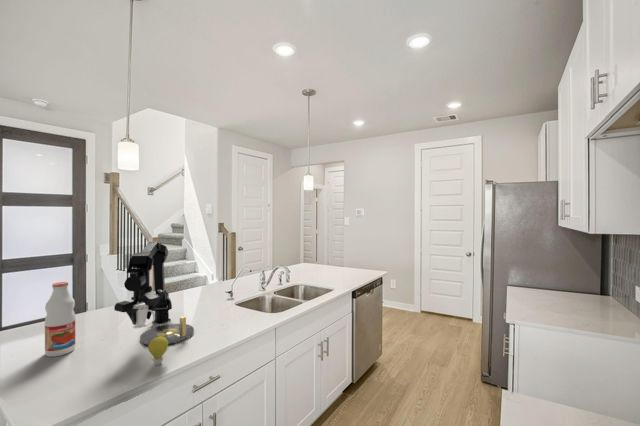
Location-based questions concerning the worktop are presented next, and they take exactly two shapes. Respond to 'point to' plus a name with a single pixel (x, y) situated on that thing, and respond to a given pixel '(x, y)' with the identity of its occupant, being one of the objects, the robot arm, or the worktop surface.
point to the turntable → (169, 332)
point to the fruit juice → (59, 322)
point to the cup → (142, 316)
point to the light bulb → (158, 349)
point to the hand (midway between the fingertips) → (141, 321)
